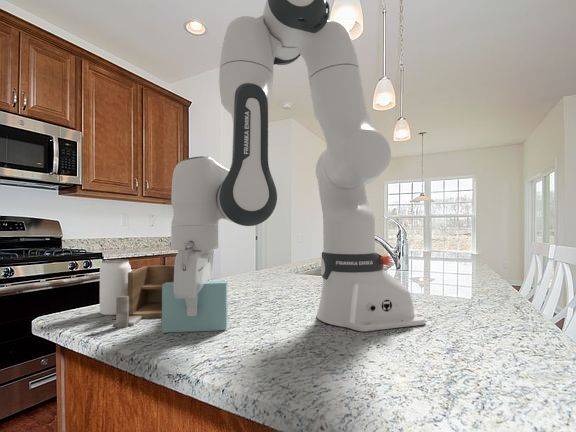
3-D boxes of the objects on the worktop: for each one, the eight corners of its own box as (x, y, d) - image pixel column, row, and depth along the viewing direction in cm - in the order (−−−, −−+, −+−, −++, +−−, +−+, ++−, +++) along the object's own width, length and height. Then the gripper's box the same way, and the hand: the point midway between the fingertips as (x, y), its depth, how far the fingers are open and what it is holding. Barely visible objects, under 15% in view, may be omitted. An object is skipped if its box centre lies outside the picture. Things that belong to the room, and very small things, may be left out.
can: (117, 316, 72) (117, 262, 72) (92, 315, 73) (93, 262, 74) (136, 309, 78) (136, 259, 79) (113, 307, 80) (113, 259, 80)
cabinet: (205, 303, 83) (205, 264, 83) (193, 324, 66) (193, 275, 66) (140, 305, 81) (140, 265, 81) (111, 327, 65) (111, 277, 65)
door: (227, 325, 65) (227, 280, 66) (225, 331, 62) (225, 283, 62) (166, 327, 64) (166, 282, 65) (160, 334, 60) (160, 285, 61)
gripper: (203, 243, 53) (203, 327, 53) (217, 237, 74) (217, 298, 73) (163, 243, 53) (163, 329, 52) (189, 237, 73) (189, 299, 73)
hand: (195, 311), depth 63 cm, fingers closed on door, 4 cm apart
